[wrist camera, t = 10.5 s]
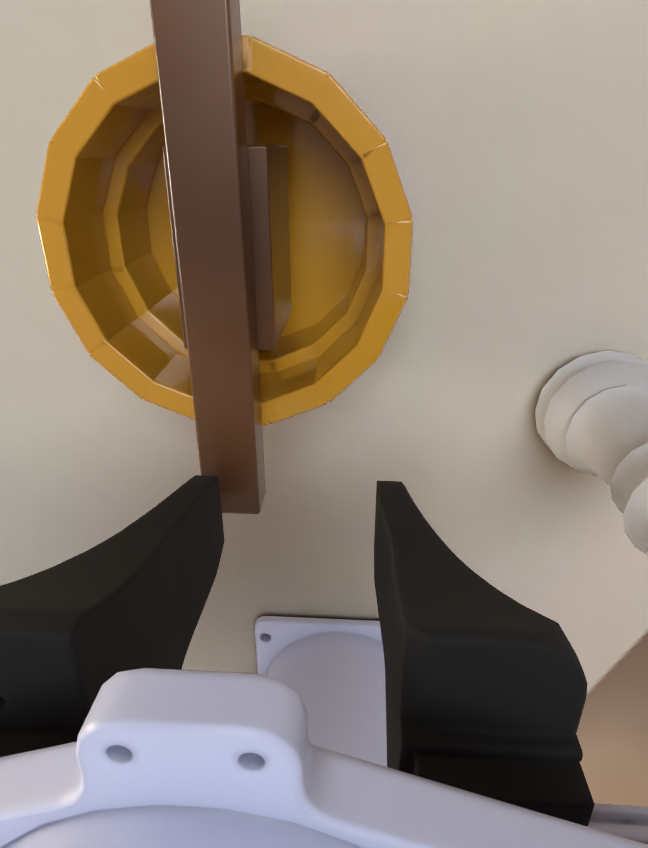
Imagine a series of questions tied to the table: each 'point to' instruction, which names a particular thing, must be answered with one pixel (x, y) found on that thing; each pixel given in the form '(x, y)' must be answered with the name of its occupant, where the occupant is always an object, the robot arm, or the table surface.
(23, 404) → the table surface
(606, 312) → the table surface
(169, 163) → the tall wooden post
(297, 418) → the table surface
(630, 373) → the rook chess piece
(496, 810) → the robot arm
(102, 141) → the bowl
